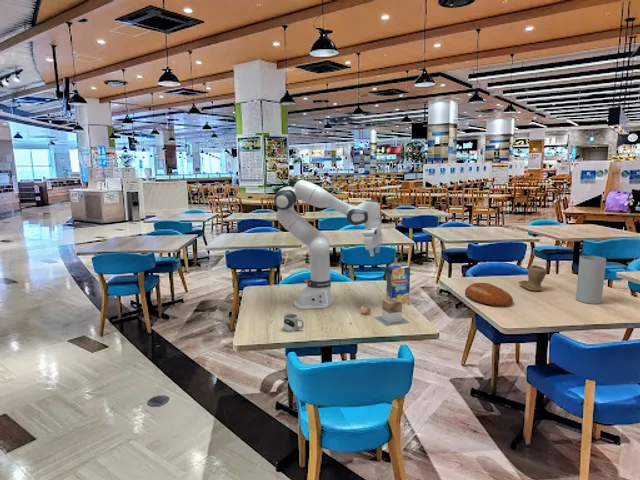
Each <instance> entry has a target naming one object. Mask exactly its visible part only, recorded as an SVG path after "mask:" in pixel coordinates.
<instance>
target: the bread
mask: <svg viewBox="0 0 640 480" xmlns="http://www.w3.org/2000/svg"><path fill="white" fill-rule="evenodd" d="M464 294H465V296H466V297H468V298H469V299H471V300H472V301H475V302H477V303H481V304H485V305H490V306H496V307H497V306H500V307H502V306H503V307H505V306H510V305H511V304H512V303H513V301H514V298H513V296H511V294H510V293H509V292H508V291H506V290H505V289H502V288H501V287H498V286H496V285H494V284H491V283H488V282H476V283H472V284H470V285H468V286H467V287H466V288H465V291H464Z"/></svg>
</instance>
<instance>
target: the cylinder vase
mask: <svg viewBox="0 0 640 480" xmlns="http://www.w3.org/2000/svg"><path fill="white" fill-rule="evenodd" d="M606 265H607V258H605V257H602V256H596V255H580V256H579V262H578V274H577V284H576V292H575V295H576V296H575V300H577V301H578V302H581V303H583V304H584V303H585V304H590V305H598V304H601V303H602V302H603V296H604V295H603V293H604V285H605V284H604V283H605V275H606V267H607V266H606Z"/></svg>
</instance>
